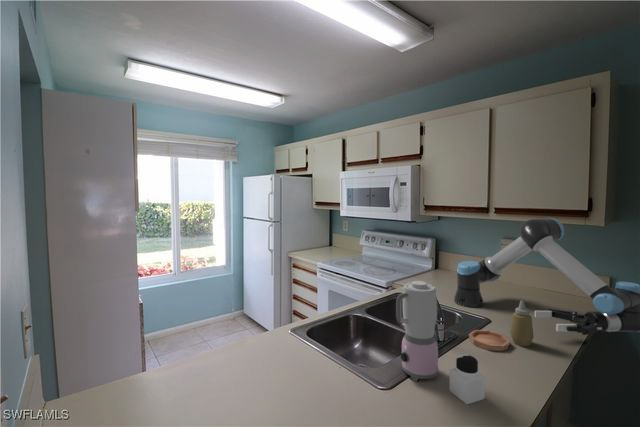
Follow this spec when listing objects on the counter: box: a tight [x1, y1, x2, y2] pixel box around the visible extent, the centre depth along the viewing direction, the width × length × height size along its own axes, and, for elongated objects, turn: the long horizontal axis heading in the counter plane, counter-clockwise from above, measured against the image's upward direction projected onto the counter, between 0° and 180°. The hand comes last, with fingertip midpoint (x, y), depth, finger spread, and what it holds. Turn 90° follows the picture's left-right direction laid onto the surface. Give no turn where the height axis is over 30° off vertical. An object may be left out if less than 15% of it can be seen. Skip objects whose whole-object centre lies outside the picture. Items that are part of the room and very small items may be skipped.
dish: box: [468, 329, 511, 352], centre depth 126 cm, size 14×14×2 cm
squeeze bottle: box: [509, 300, 534, 347], centre depth 124 cm, size 8×8×18 cm
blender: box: [395, 280, 439, 381], centre depth 105 cm, size 16×12×32 cm
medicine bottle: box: [449, 353, 486, 405], centre depth 93 cm, size 7×7×12 cm
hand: (545, 320), depth 123 cm, fingers open, 13 cm apart
